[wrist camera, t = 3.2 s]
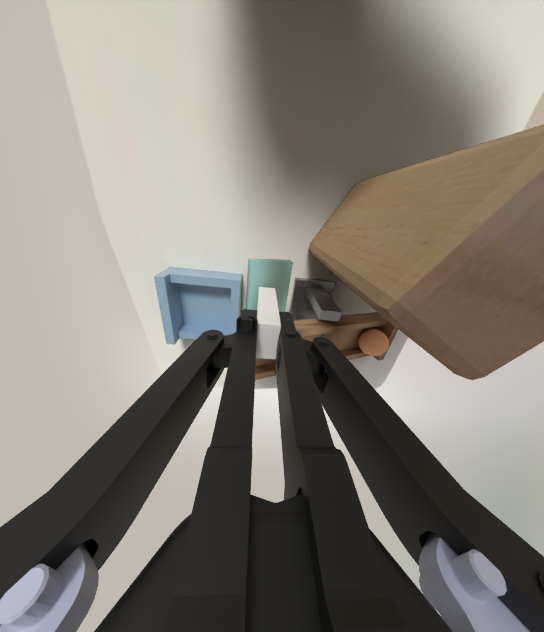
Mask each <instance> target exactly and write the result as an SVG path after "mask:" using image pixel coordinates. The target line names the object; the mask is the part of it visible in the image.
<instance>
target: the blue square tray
mask: <svg viewBox="0 0 544 632" xmlns="http://www.w3.org/2000/svg"><path fill="white" fill-rule="evenodd" d="M154 279H155V284H156V289H157V295H158V300H159V305H160V311H161V316H162V322H163V327H164V332H165V338H166V343H167V344H175V343H176V342H177V340H178V339H193V340H196V339H197V338H198V337H199V336H200V335H201V334H202V333H203V332H205V331H208V330H219V331H221V332H222V333H223V334H224V335H230V334H233V333H235V332H236V320H237V318H238V317H239V316H241V292H242V274H234V273H224V272H214V271H204V270H194V269H185V268H175V267H169V268H167V269H166V270H164V271H162V272H161V273H159V274H157V275H156V276H154Z"/></svg>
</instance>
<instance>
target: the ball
mask: <svg viewBox="0 0 544 632" xmlns="http://www.w3.org/2000/svg"><path fill="white" fill-rule="evenodd" d="M359 346H360V348H361V350H362V351H363V352H364V353H365V354H367V355H370V356H380V355H382V354H384V353H385V352H386V351H387V349H388V347H389V341H388V338H387V336H386V335H385V334H384V333H383V332H381V331H379V330H375V329H371V330H367V331H365V332H363V333H362V334H361V336H360V338H359Z"/></svg>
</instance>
